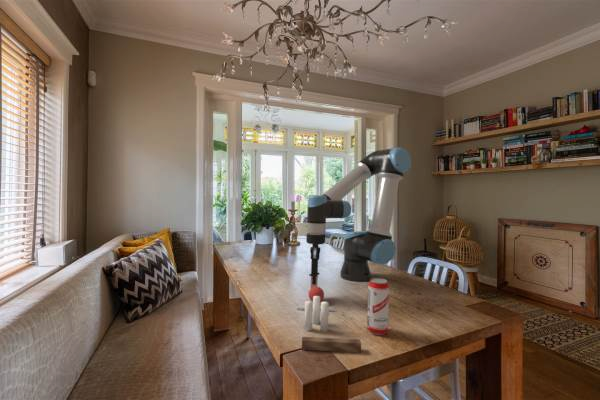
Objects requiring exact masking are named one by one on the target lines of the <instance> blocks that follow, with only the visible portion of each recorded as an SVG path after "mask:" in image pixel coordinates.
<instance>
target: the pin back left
mask: <svg viewBox="0 0 600 400" xmlns="http://www.w3.org/2000/svg"><path fill="white" fill-rule="evenodd" d="M304 308H305V310H304V330H305V331H306V332H311V331H312V330H313V302H312V301H311V300H305V301H304Z"/></svg>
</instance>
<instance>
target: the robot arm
mask: <svg viewBox="0 0 600 400" xmlns="http://www.w3.org/2000/svg"><path fill="white" fill-rule="evenodd" d="M409 153H410V152H408V150H406V149H405V148H403V147H393V148H387V149H381V150H380V149H378V150H375V151H372V152H371V153H369V154H367V155H366V156H365V157H363V158H362V159H360V160H359V162H357V163H356V164H355V165H354V166H355V167H354V168H353V169H351V171H350V172H348V173H346V175H344V176H343V177H342V178H341V179H340V180H338V181H337V182H336V183H335V184H333V185H332V186H331V187H330V188H329V189H327V190H326V191H325V192H324V193H323V194H318V195H317V194H310V195H308V199H307V207H306V208H307V213H306V214H307V219H306V221H307V223H306V224H305V227H306V232H307V234H306V239H305V241H306V243H307V244H310V245H312V246H310V250H309V251H310V252H309V253H310V260H311V261H310V262H311V265H310V266H311V268H310V269H311V271H310V273H309V274H308V276H309V277H310V289H311V288H312V287H315V286H317V287H318V282H319V281H318V280H319V278H318V277H319V275H320V272H319V269H318V268H319V259H320V254H321V247H319V245H324V244H325V243H326V234H325V233H326V232H327V231H326V230H327V223H326V222H327V219H347V218H349V217H350V215H351V213H352V205H351V203H350V202H349V201H347V200H343V199H344V198H345V197H346V196H348V195H349V193H351V192H352V191H353V190H354V189H356V187H357V186H359V185H360V184H361V183H362V182H363V181H365V180H369V179H370V178H372V177H373V176H375V175H377V177H378V178H379V182H378V187H377V193H376V198H375V202H374V203H375V204H374V209H373V214H372V219H371V223H370V224H371V225H370V228H369V229H368V230H365V231H364V230H362V231H361V230H359V231H358V230H356V231H347V232H346V233H345V234H344V241H343V242H344V249H343V250H344V255H343V256H344V258H343V263H342V266H341V269H340V272H339V273H340V277H341V278H342V279H343V280H346V281H351V282H366V281H369V280H370V279H372V273H371V269H370V266H369V262H372V263H374V264H379V265H386V264H388V263H390V262H391V261H392V260H393V259H394V257H395V254H396V251H397V248H396V247H397V246H396V245H395V244H396V243H395V242H394V241H393V235H392V234H391V232H390V231H391V225H392V222H393V221H392V220H393V215H394V209H395V203H396V199H397V198H396V197H397V193H398V187H399V182H400V181H402V180H403V179H404V174H405V173H407V172H408V171H409V170H411V167H412V159H411V156H410V154H409Z"/></svg>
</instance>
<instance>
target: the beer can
mask: <svg viewBox="0 0 600 400" xmlns="http://www.w3.org/2000/svg"><path fill="white" fill-rule="evenodd" d="M389 299H390V286H389V284H388V280H387V279H385V278H381V277H373V278H372V277H371V279H370V281H369V283H368V287H367V312H366V313H367V317H366V318H367V319H366V320H367V321H366V322H367V323H366V328H367V330H368V331H369V333H371V334H372V335H376V336H384V335H385V334H386V333H388V331H389V307H390V306H389V303H390V300H389Z"/></svg>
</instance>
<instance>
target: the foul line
mask: <svg viewBox="0 0 600 400" xmlns="http://www.w3.org/2000/svg"><path fill="white" fill-rule="evenodd" d="M296 310H297V311H305V307H297V308H296ZM320 312H321V307H320ZM329 312H337V311H336V308H329Z"/></svg>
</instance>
